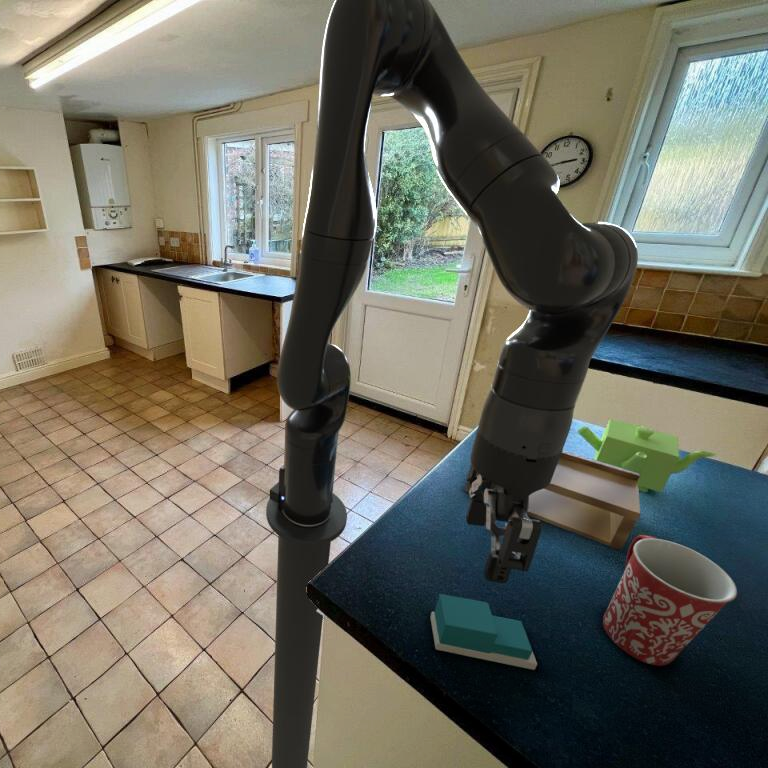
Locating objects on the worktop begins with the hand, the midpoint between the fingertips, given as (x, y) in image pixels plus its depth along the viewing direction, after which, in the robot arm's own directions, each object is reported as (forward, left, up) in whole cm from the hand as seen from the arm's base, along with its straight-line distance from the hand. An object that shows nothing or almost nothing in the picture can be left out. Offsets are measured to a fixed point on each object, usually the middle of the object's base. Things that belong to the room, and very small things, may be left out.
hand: (483, 549), depth 49 cm
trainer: (+3, 0, -15) cm, 16 cm away
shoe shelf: (+6, +36, -15) cm, 40 cm away
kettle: (+19, +55, -16) cm, 60 cm away
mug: (+19, +15, -16) cm, 29 cm away
